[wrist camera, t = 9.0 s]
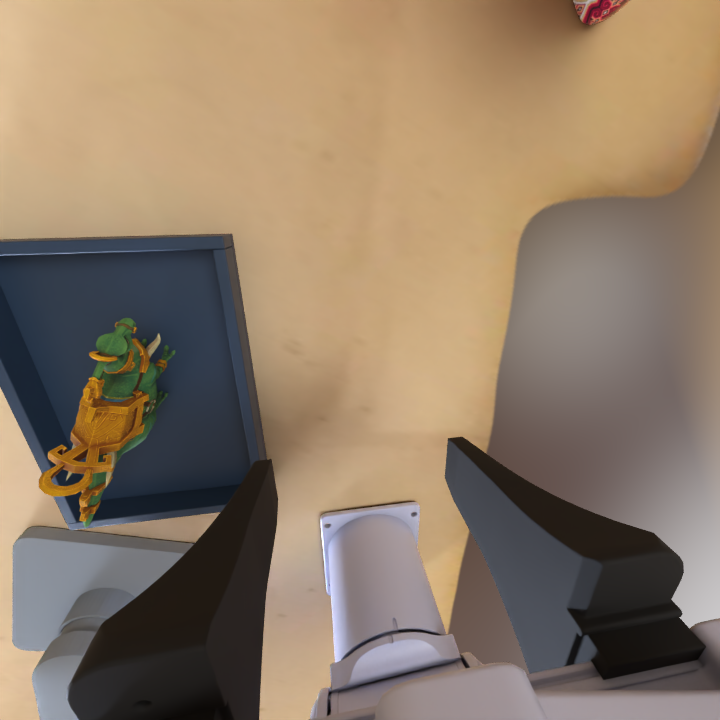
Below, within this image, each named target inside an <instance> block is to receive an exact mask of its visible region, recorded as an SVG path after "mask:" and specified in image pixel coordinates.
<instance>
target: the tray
mask: <svg viewBox="0 0 720 720" xmlns="http://www.w3.org/2000/svg"><path fill="white" fill-rule="evenodd" d="M124 318H131V319H132V320H133V321H134V322H135V323H136V325H135V326H136V328H137V330H136V332H135V333H131V338H132V339H134V338H136V339H138V340H139V341H140V343H141V342H142V340H143V339H146V340H147V344H146V346H145V349H146V348H147V347H148V345H150V344H151V343H152V342H153V341H154V340H155V339H156V338H157V336H158V334H159V335H160V344H159V345H158V347H157V348H156V350H155V351H154V352H153V354H152V355H151V357H150V359H149V362H151V363H154V364H155V365H156V363H157V361H158V360H159V359H160V360H161V359H162V355H163V352H164V347H165V346H166V345H167V346H168V347H169V350H168V353H169V354H170V353H171V352H172V351H174V350H175V354H174V355H173V356H172V357H171V358H170V359H169V360H168V361H167V367H166V368H165V370H164V372H162V373H161V375H160V376H159V378H158V379H156V385H157V393H159V392H160V391H162V392H163V394H162V397H163V396H164V393H168V395H167V397H166V398H165V399H164V400H163V401H162V402H161V404H160V405H159V406H158V408H157V409H156V411H155V412H156V421H155V423H154V425H153V427H152V429H151V430H150V432H149V434H148V435H147V437H146V439H145V440H144V441H142V442H141V443H140V444H138V445H137V446H136V447H134V448H132V449H130V450H129V451H127V452H125V453H123V454H122V456H121V457H120V459H119V460H118V462H117V463H116V465H115V468H114V471H113V473H112V476H113V478H112V480H111V481H110V483H109V484H108V485H107V487H105V489H104V491H103V493H102V496H101V498H100V500H101V502H100V505H99V507H98V509H97V510H96V512H95V514H94V516H93V519H92V521H91V523H90V525H89V526H88V527H86V528H93V527H101V526H109V525H118V524H126V523H134V522H142V521H150V520H159V519H167V518H175V517H183V516H191V515H200V514H208V513H216V512H221V511H222V510H223V509H224V507H225V506H226V505H227V503H228V502H229V500H230V499H231V497H232V496H233V495H234V493H235V492H236V490H237V489H238V487H239V486H240V484H241V483H242V481H243V479H244V478H245V476H246V474H247V473H248V471H249V469H250V468H251V466H252V464H253V463H254V462H255V461H259V460H267V456H266V450H265V443H264V437H263V430H262V424H261V417H260V411H259V404H258V398H257V391H256V385H255V378H254V372H253V365H252V359H251V353H250V346H249V340H248V333H247V327H246V320H245V314H244V307H243V301H242V294H241V288H240V281H239V275H238V268H237V262H236V255H235V249H234V242H233V236H232V234H203V235H163V236H123V237H83V238H43V239H3V240H0V387H1V389H2V391H3V393H4V395H5V398H6V400H7V402H8V404H9V406H10V408H11V410H12V412H13V414H14V416H15V418H16V420H17V422H18V424H19V426H20V429H21V431H22V433H23V435H24V437H25V439H26V441H27V443H28V445H29V447H30V449H31V451H32V453H33V455H34V457H35V460H36V462H37V464H38V466H39V468H40V470H41V472H42V473H44V472H45V471H47V470H49V469H51V468H53V467H55V466H56V464H55V463H53V462H52V461H51V460H49V459H48V452H49V451H51V450H53V449H55V448H57V447H58V446H60V445H63V446H65V447H66V448H67V452H68V451H70V450H72V446H73V442H72V441H71V440H70V439H71V432H72V430H73V428H74V426H75V424H76V418H77V414H78V411H79V406H80V403H79V402H80V400H81V398H82V396H83V389H84V388H85V387H86V385H87V384H88V382H89V378H91V377H92V375H93V373H94V370H95V368H96V366H97V363H98V360H95V359H93V358H91V356H90V355H89V353H90V352H92V351H98V350H97V347H96V342H97V340H98V338H99V337H100V336H102V335H104V334H108V333H113V332H114V331H115V330H116V327H115V324H116V322H119V321H120V320H122V319H124ZM79 462H86V457H85V458H84V459H82V460H80V461H79ZM68 472H69V471H67V470H64V469H62V470H61V471H60V472H59V473H58V474H56V475H55V476H54V477H53V479H52V480H51V481H52V483H53V484H54V485H58V486H70V485H73V484H76V483H78V482H80V481H81V480H82V479H83V477H84V474H82V473H72V475H71V476H70V477H69V478H68V479H67V476H68ZM66 479H67V480H66ZM82 494H83V493H82V491H80V492H78V493H76V494H72V495H68V496H53V497H54V499H55V501H56V503H57V505H58V507H59V509H60V511H61V513H62V515H63V517H64V519H65V522H66V523H67V525H68V527H69V529H70V530H77V529H85V527H84V524H83V521H79V520H80V516H81V512H80V508H81V506H80V504H79V498H80V496H81V495H82Z"/></svg>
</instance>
